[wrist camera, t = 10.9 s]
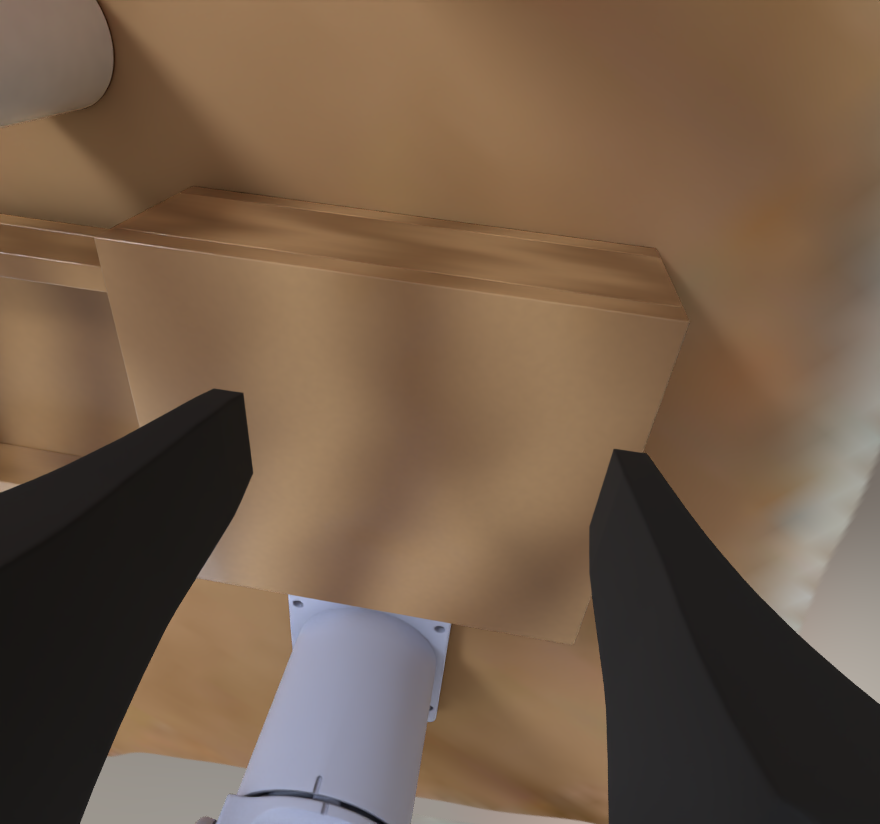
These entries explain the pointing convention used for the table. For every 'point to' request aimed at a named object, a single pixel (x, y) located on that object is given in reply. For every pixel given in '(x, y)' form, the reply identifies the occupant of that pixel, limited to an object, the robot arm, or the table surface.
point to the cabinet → (401, 394)
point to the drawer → (56, 350)
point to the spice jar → (52, 58)
